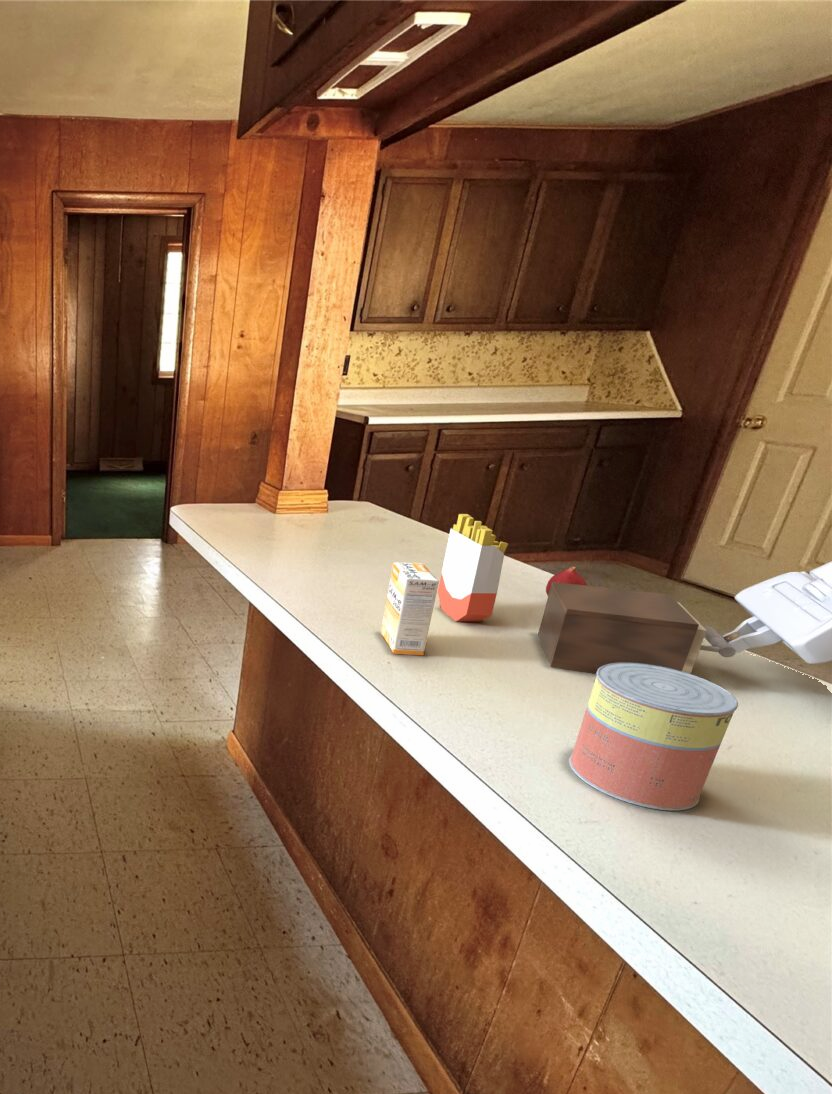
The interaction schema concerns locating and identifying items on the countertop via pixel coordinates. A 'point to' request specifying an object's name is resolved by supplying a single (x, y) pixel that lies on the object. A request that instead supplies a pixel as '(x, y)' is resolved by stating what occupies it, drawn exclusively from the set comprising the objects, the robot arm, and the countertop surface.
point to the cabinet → (613, 628)
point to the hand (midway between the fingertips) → (727, 645)
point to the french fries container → (470, 571)
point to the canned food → (651, 734)
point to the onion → (566, 578)
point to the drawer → (713, 638)
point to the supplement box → (409, 608)
